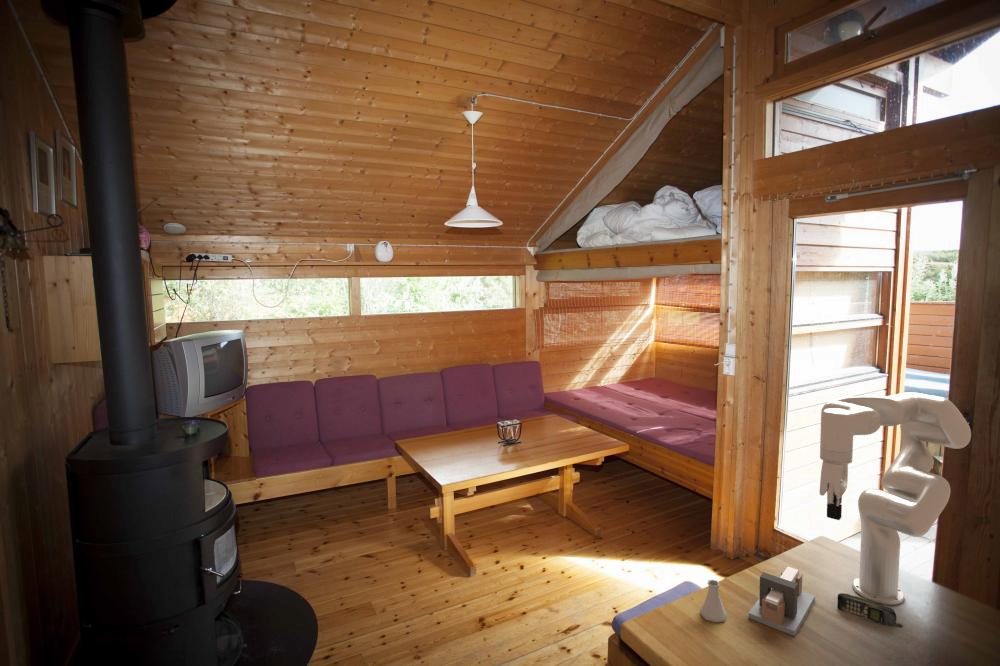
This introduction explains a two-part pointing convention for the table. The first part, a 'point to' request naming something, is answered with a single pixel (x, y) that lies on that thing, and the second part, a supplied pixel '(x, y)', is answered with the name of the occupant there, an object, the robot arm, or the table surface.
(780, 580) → the collar
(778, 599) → the pipe stand
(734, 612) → the table surface
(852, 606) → the mobile phone
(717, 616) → the flask
